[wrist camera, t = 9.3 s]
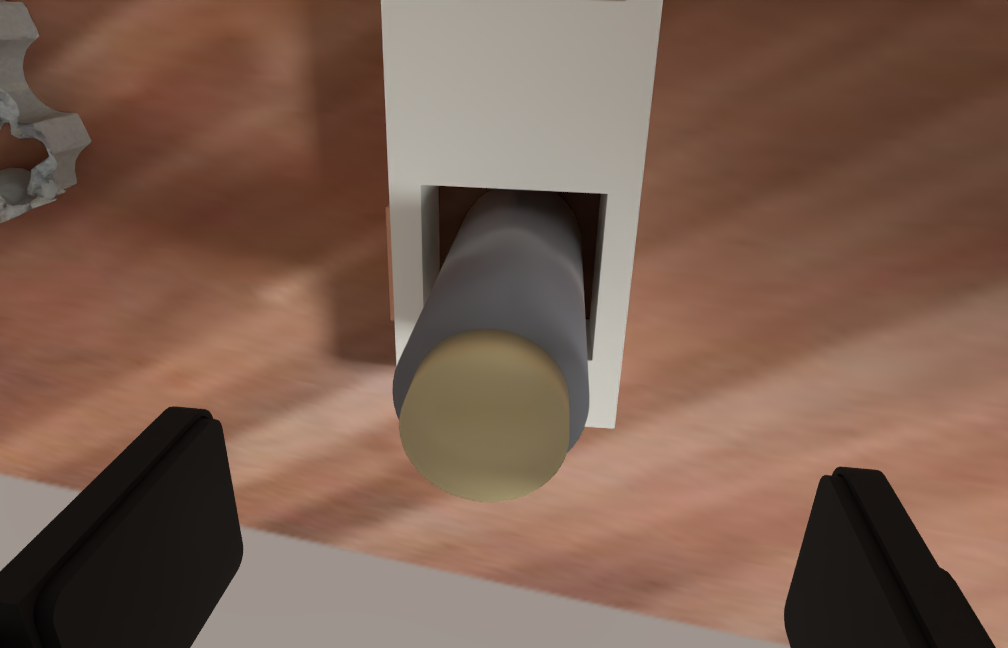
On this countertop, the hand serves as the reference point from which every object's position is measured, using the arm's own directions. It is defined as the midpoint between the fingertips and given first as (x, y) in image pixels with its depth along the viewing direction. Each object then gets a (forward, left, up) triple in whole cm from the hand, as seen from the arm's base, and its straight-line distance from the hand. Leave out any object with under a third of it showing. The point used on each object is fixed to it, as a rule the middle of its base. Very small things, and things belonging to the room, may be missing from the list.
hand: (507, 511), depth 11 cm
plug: (+1, 0, -13) cm, 13 cm away
